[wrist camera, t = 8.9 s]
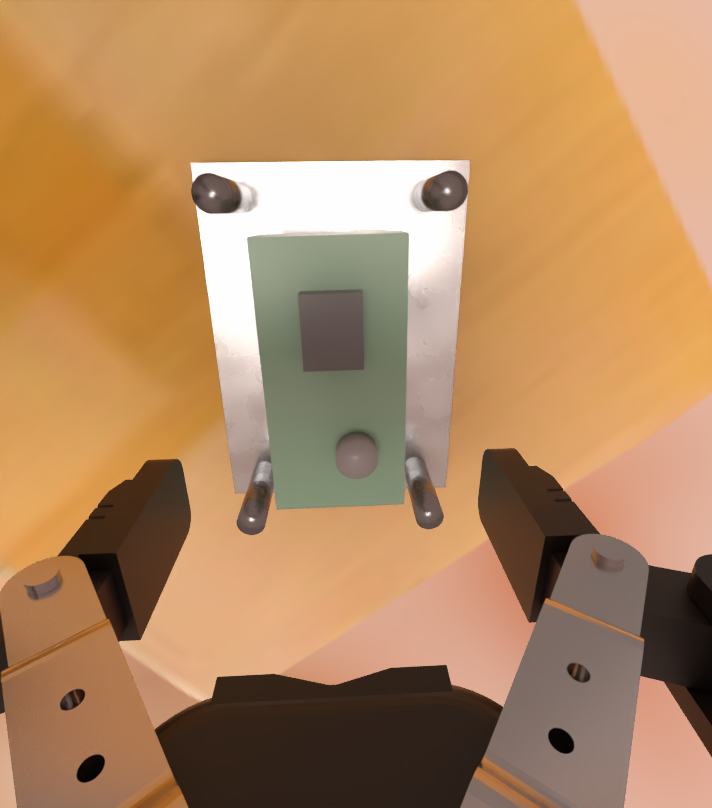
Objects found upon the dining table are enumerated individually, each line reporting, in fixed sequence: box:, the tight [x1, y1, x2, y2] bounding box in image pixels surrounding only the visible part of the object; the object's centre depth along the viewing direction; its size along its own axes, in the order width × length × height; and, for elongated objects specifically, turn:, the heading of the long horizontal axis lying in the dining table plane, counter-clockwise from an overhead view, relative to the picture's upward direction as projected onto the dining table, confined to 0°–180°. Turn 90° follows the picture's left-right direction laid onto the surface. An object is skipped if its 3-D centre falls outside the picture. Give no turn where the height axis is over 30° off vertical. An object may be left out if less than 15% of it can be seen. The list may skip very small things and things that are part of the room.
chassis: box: [191, 160, 470, 535], centre depth 23 cm, size 18×13×6 cm
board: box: [246, 230, 409, 510], centre depth 20 cm, size 12×6×4 cm, turn 1°
